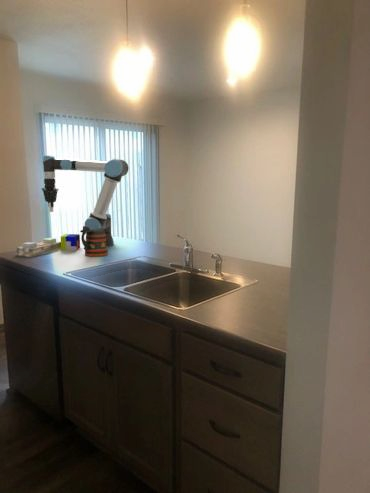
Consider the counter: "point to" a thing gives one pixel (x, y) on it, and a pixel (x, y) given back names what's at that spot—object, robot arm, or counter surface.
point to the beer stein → (94, 242)
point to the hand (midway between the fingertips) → (51, 211)
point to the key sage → (49, 240)
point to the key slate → (29, 245)
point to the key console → (38, 249)
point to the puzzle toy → (70, 242)
